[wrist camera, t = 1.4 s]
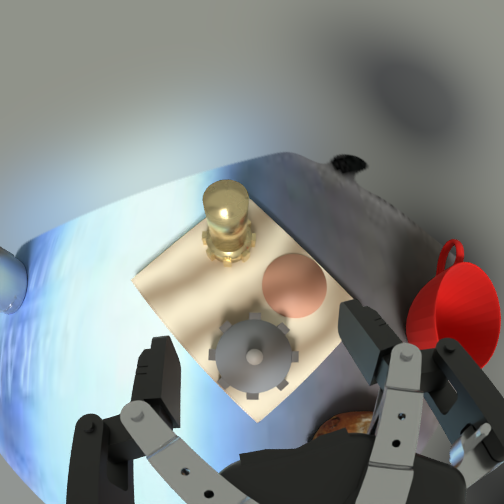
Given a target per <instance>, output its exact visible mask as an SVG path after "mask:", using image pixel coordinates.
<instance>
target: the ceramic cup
mask: <svg viewBox="0 0 504 504" xmlns="http://www.w3.org/2000/svg"><path fill="white" fill-rule="evenodd" d="M454 245H455V247H456V260H455V262H454V264H453V265H452V266H451V267H449V268H448V269H446V270H444V269H445V263H446V259H447V256H448V253H449V251H450V250H451V248H452V247H453V246H454ZM463 259H464V249H463V245H462V244H461V242H460V241H458V240H455V239H451V240H449V241H448V242H446V244H445V245H444V246H443V248H442V250H441V253H440V255H439V259H438V264H437V271H436V276H435V277H434V278H433V279H431V280H430V281H429V282H428V283H427V284H426V285H425V286H424V287H423V288H422V289H421V290H420V291H419V293H418V294H417V296H416V297H415V299H414V300H413V302H412V305H411V307H410V309H409V313H408V316H407V323H406V334H407V340H408V343H410V344H413V345H415V346H416V347H418V348H419V350H423V349H430V348H435V347H436V344H437V342H438V341H439V340H440V339H443V338H452V339H455V340H456V341H458V342H459V343H460V344H461V345H462V347H463V348H464V349H465V350H466V351H467V352H468V354H469V355H470V356H471V357H472V358H473V360H474V361H475V362H476V363H477V364H478V366H479V367H480V368H481V369H482V368H483V367H484V366H485V365H486V364H487V362H488V361H489V360H490V358H491V357H492V355H493V353H494V350H495V348H496V346H497V342H498V339H499V333H500V324H501V316H500V306H499V301H498V297H497V294H496V291H495V288H494V286H493V284H492V282H491V280H490V279H489V277H488V276H487V275H486V273H485V272H483V270H482V269H481V268H479V267H478V266H476V265H474V264H472V263H469V262H463Z"/></svg>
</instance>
